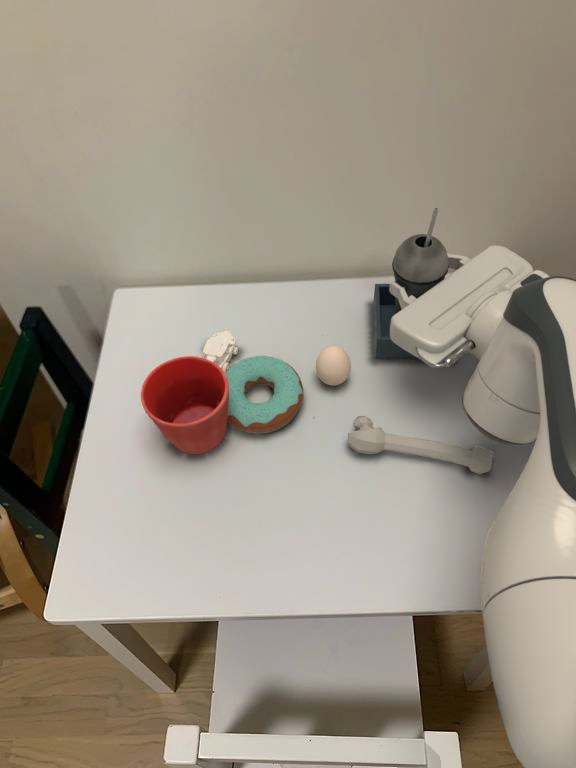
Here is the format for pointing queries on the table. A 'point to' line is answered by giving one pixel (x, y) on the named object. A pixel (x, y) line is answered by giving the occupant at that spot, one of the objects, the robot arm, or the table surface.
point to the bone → (415, 447)
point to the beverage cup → (420, 263)
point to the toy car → (220, 349)
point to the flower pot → (188, 402)
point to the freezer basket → (386, 326)
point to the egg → (333, 365)
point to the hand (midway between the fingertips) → (414, 269)
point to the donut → (275, 409)
